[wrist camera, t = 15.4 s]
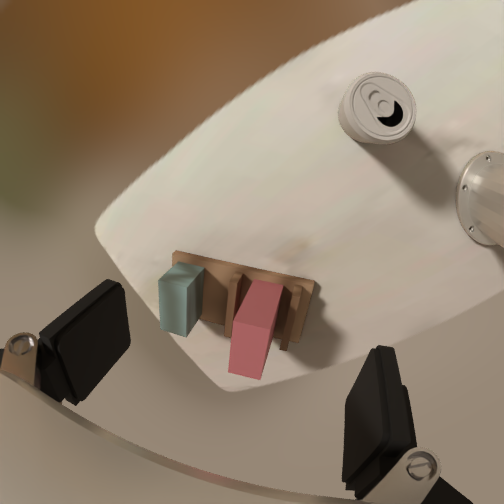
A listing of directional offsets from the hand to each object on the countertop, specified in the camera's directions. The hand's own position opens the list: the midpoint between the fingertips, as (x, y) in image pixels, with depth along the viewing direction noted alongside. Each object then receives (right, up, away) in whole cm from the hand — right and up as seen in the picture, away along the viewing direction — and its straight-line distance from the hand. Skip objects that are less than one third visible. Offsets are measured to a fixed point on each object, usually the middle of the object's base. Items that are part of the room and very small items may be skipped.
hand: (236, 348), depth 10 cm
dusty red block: (+2, -4, +31) cm, 32 cm away
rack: (-1, -3, +33) cm, 33 cm away
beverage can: (+14, +19, +20) cm, 31 cm away
